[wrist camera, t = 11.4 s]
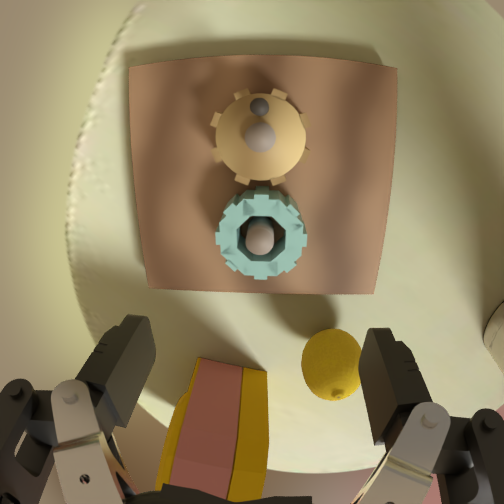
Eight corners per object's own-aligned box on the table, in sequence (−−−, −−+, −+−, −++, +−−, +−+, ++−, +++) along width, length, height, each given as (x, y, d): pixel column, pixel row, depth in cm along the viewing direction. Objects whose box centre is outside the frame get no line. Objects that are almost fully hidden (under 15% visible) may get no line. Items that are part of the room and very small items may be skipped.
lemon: (292, 320, 28) (297, 384, 21) (350, 305, 27) (370, 366, 20) (305, 360, 31) (311, 422, 23) (357, 347, 30) (374, 407, 22)
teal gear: (305, 187, 21) (309, 195, 19) (301, 264, 24) (303, 280, 21) (219, 185, 22) (213, 194, 19) (222, 262, 24) (217, 278, 22)
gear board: (387, 71, 19) (425, 59, 13) (367, 282, 26) (389, 327, 20) (139, 70, 20) (98, 59, 14) (156, 276, 27) (129, 318, 21)
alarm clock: (193, 343, 31) (144, 510, 14) (271, 360, 31) (265, 531, 14) (182, 418, 37) (153, 538, 20) (242, 431, 37) (229, 552, 20)
